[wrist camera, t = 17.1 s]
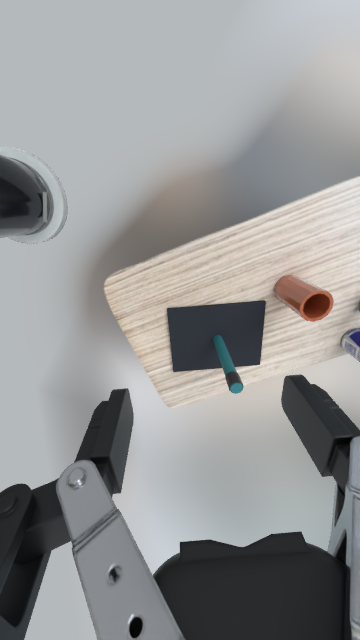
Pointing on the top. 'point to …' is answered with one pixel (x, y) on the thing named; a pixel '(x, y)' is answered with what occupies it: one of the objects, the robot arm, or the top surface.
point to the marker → (228, 366)
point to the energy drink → (352, 343)
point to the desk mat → (210, 320)
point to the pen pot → (304, 298)
